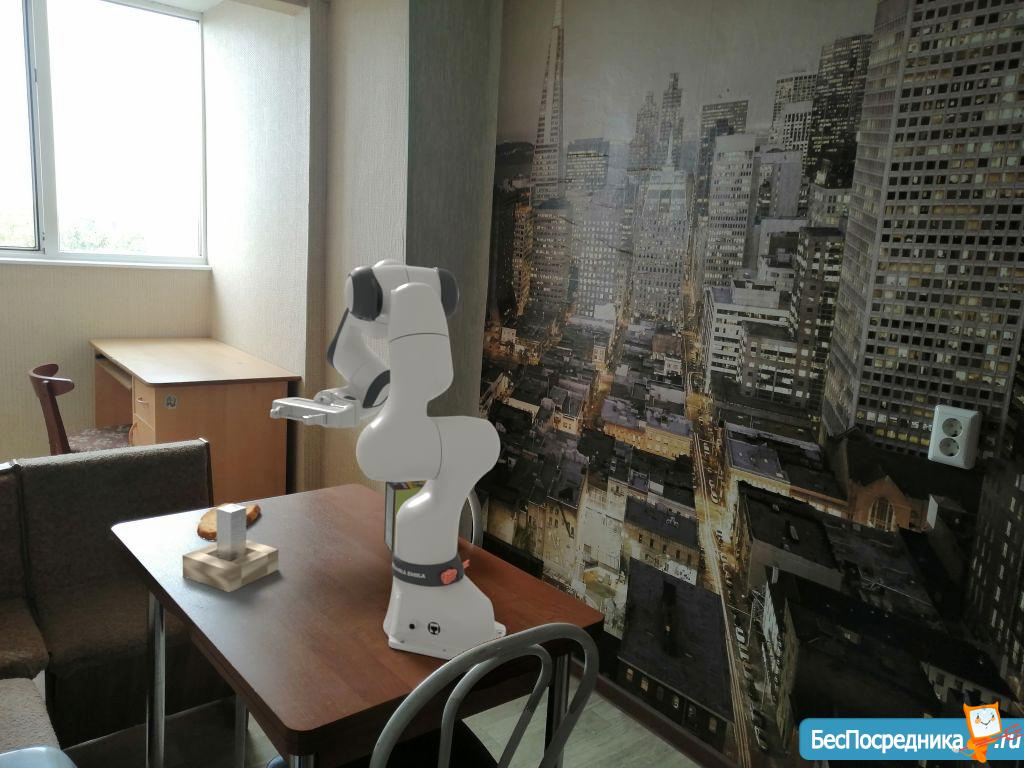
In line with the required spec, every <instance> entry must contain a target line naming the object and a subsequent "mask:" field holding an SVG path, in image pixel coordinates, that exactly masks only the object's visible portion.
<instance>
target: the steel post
mask: <svg viewBox="0 0 1024 768" xmlns="http://www.w3.org/2000/svg"><path fill="white" fill-rule="evenodd" d="M239 505H240V504H236V503H232V504H229V505H226V506H223V507H220V508H217V509H216V510H217V541H216V542H217V558H220V559H223V560H226V561H229V562H231V561H234V560H236V559H238V558H241V557H243V556H245V555H246V540H247V527H246V507H243V506H244V505H241V506H239Z"/></svg>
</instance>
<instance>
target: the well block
mask: <svg viewBox="0 0 1024 768" xmlns="http://www.w3.org/2000/svg"><path fill="white" fill-rule="evenodd" d="M278 570H279V549H278V548H275V547H272V546H270V545H266V544H261V543H258V542H256V541H251V540H249V539H246V555H245V556H243V557H241V558H238V559H236V560H234V561H231V562H229V561H226V560H223V559H220V558H217V541H215V542H213V543H211V544H208V545H205V546H203V547H201V548H198V549H196V550H193V551H190V552H188V553H185V554H182V577H183V576H185V577H184V578H186V577H188V578H187V579H189V578H191V579H190V580H192V579H194V580H193V581H195V580H196V581H195V582H197V581H199V582H198V583H200V582H202V583H201V584H203V583H205V584H204V585H206V584H207V586H209V585H210V586H209V587H212V586H213V587H212V588H215V589H217V590H222V591H223V590H224V592H227V593H229V592H230V593H232V592H234V591H236V590H238V589H240V588H242V587H244V586H247V585H249V584H251V583H253V582H255V581H257V580H259V579H261V578H263V577H266V576H268V575H270V574H272V573H275V572H276V571H278ZM231 591H232V592H231Z"/></svg>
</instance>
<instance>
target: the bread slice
mask: <svg viewBox="0 0 1024 768" xmlns="http://www.w3.org/2000/svg"><path fill="white" fill-rule="evenodd" d="M229 504H233V503H230V502H223V503H222V504H220V505H218V506H215V507H214V508H211V509H210V510H208V511H207V512H205V513H204V514H203V515H202V516H201V518H200V522H199V523H198V525H197V529H196V533H198V534H197V535H198V537H200V538H201V537H202V538H201V539H203V538H205V539H207V540H206V541H209V540H214V541H213V542H217V541H216V540H217V510H216V509H217V508H220V507H223V506H226V505H229ZM238 505H239V506H243V507H246V526H247V527H248V526H249V525H250V524H252V523H253V522H254V521H255V520H256V519H257V518H258V515H259V514H260V513H261V512H262V511H261V507H260V506H259V504H257V503H254V504H252V505H240V504H238ZM205 539H204V540H205Z"/></svg>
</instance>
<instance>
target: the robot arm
mask: <svg viewBox="0 0 1024 768" xmlns="http://www.w3.org/2000/svg"><path fill="white" fill-rule="evenodd" d="M459 292H460V291H459V286H458V282H457V279H456V277H455V275H454V274H453V273H452V272H451V271H450V270H448V269H444V268H440V267H435V266H434V267H432V268H430V267H424V266H414V265H408V264H406V263H404V262H403V261H401V260H398V259H393V258H392V259H391V258H390V259H383V260H381V261H379V262H377V263H376V264H374V265H373V266H371V265H364V266H363V265H362V266H358V267H355V268H353V269H352V270H351V271H350V272H349V274H348V277H347V279H346V283H345V286H344V300H345V304H346V307H347V308H346V309H345V311H344V313H343V316H342V318H341V320H340V322H339V324H338V327H337V330H336V332H335V335H334V337H333V339H332V340H331V341H330V342H329V344H328V346H327V347H326V348H327V349H326V355H325V356H326V358H325V359H326V362H327V364H328V365H330V367H332V369H334V370H335V371H337V372H338V373H339V374H340V375H341V377H342V378H343V379H344V380H345V381H346V382H347V383H348V384H347V385H346V386H344V387H334V388H331V389H330V388H329V389H325V390H324V389H323V390H321V391H319V392H317V393H316V394H315V396H314V397H313V398H312V399H311V398H303V397H296V396H295V397H285V398H278V399H274V400H273V401H272V406H271V407H272V408H271V410H270V411H269V413H270V415H269V416H270V418H272V419H281V418H284V419H290V420H293V421H299V422H302V424H303V425H306V426H311V425H318V426H319V425H320V426H321V427H324V428H327V429H331V428H334V429H347V428H358V427H360V426H361V420H364V419H367V418H368V417H371V416H373V415H375V414H376V413H378V412H379V411H380V410H381V411H380V412H379V413H378V415H376V416H375V417H374V419H373V420H372V421H371V422H370V423H368V424H367V425H366V426H365V427H364V428H363V429H362V431H361V432H360V434H359V436H358V439H357V442H356V447H355V449H356V450H355V453H356V454H355V455H356V456H355V457H356V460H357V463H358V466H359V468H360V470H361V471H362V473H364V475H365V476H366V477H367V478H368V479H370V480H372V481H373V480H374V481H381V482H385V483H386V482H396V483H397V482H409V481H421V480H427V482H426V484H425V485H424V487H423V488H422V489H421V490H420V491H419V492H418V493H417V494H416V495H414V496H413V497H411V498H409V499H408V500H406V501H405V502H404V503H403V504H402V506H401V507H400V509H399V511H398V513H397V516H396V537H395V550H394V551H393V554H392V559H391V574H392V587H391V593H390V599H389V603H388V608H387V612H386V615H385V618H384V620H383V625H382V628H383V631H384V632H385V634H386V636H387V637H388V646H389V647H390V648H392V649H396V650H402V651H406V652H411V653H414V654H420V655H425V656H430V657H433V658H438V659H442V660H449V661H451V660H450V659H452V658H453V657H455V656H457V655H458V654H460V653H462V652H463V651H466V650H468V649H470V648H473V647H475V646H477V645H479V644H482V643H484V642H487V641H490V640H493V639H496V638H499V637H503V636H505V635H506V636H507V628H506V626H505V625H504V624H502V623H500V622H498V621H496V620H495V613H494V608H493V604H492V601H491V600H490V598H489V597H488V596H487V595H486V594H485V593H483V592H482V591H481V590H480V588H479V587H478V586H477V585H475V584H474V582H473V581H471V579H470V578H469V577H468V576H466V574H465V569H466V568H467V567H469V566H470V563H469V562H470V559H467V560H465V561H463V562H462V559H461V557H460V554H459V551H458V549H457V538H458V539H459V530H458V528H459V527H460V519H461V513H462V510H463V507H464V505H465V502H466V500H467V498H468V497H469V495H470V493H471V491H472V489H474V486H475V485H476V484H477V482H479V481H480V480H481V478H482V477H483V476H485V475H486V474H487V473H488V472H490V471H491V470H492V469H493V468H494V466H495V465H496V463H497V461H498V460H499V459H498V458H499V456H500V452H501V441H500V436H499V433H498V431H497V430H496V428H495V426H494V425H493V423H492V422H491V421H489V420H488V419H484V418H481V417H480V418H479V417H474V416H469V415H468V416H467V415H452V416H449V415H448V416H428V413H427V409H428V403H429V402H430V401H432V400H434V399H435V398H437V397H439V396H440V395H442V394H443V393H445V392H447V390H448V389H449V387H451V385H452V383H453V379H454V368H453V360H452V359H453V357H452V351H451V349H452V348H451V343H450V342H451V341H450V335H449V327H448V323H447V320H449V319H451V318H452V316H454V314H455V312H456V311H457V309H458V306H459V305H458V304H459V298H460V293H459ZM362 333H363V334H364V335H366V336H368V337H369V338H372V339H375V340H387V343H388V355H389V357H388V358H389V365H388V364H387V362H385V361H384V360H383V358H381V357H380V355H378V354H377V353H376V352H375V351H374V350H373V349H372V347H370V346H369V344H367V342H366V341H365V340H364V338H363V337H362Z"/></svg>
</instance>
